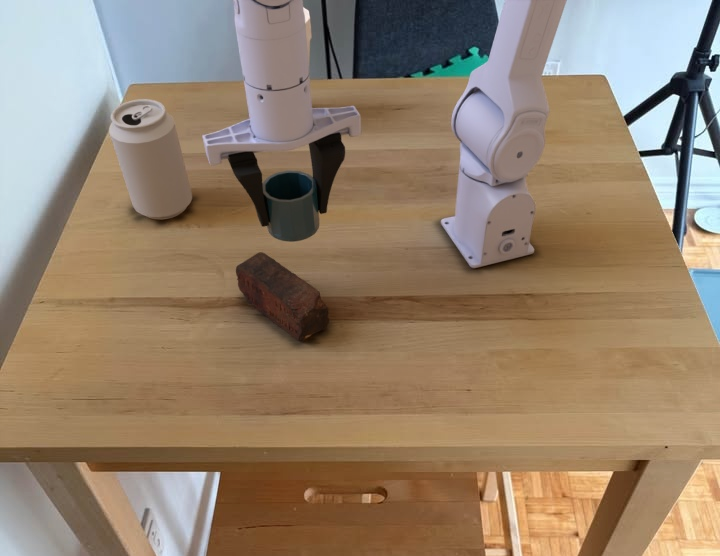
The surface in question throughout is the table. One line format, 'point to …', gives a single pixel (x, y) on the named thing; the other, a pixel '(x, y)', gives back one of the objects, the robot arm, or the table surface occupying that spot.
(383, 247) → the table surface
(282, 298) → the brick
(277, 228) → the cup
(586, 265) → the table surface
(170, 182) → the can
